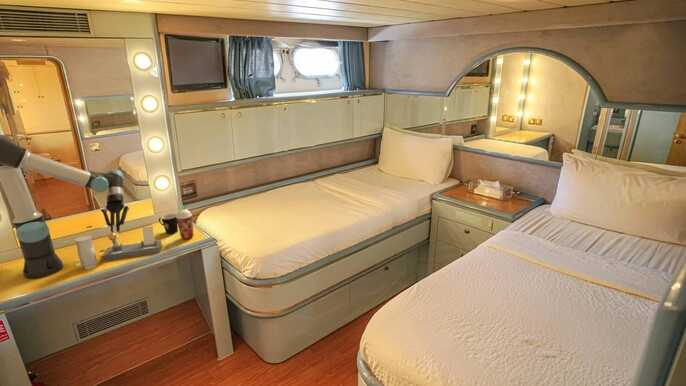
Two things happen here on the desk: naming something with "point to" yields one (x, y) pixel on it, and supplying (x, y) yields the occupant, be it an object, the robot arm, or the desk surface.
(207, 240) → the desk surface
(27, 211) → the robot arm
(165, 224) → the coffee mug
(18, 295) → the desk surface
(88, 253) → the candle
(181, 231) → the smoothie
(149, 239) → the white flat upright panel
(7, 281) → the desk surface
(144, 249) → the switch console
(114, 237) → the steel toggle
